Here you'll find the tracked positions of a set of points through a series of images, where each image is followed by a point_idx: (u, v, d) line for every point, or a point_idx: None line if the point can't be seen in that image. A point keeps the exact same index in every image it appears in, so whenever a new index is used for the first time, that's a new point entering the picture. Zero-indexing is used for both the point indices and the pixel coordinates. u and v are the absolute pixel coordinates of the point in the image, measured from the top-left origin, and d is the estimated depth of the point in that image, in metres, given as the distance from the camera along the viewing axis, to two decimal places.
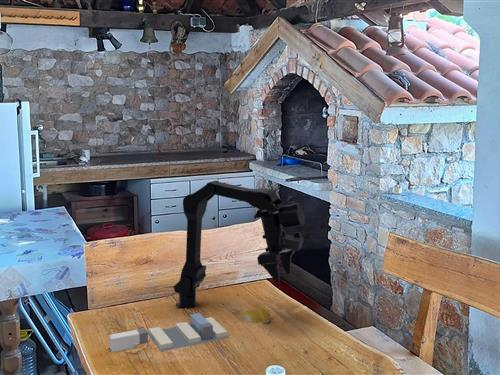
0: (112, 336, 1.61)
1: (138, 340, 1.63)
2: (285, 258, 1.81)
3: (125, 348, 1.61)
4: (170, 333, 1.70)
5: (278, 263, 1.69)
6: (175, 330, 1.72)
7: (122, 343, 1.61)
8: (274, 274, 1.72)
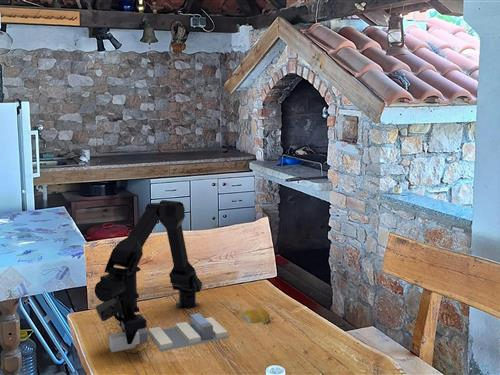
0: (112, 336, 1.61)
1: (138, 340, 1.63)
2: None
3: (125, 348, 1.61)
4: (170, 333, 1.70)
5: (114, 316, 1.64)
6: (175, 330, 1.72)
7: (122, 343, 1.61)
8: None
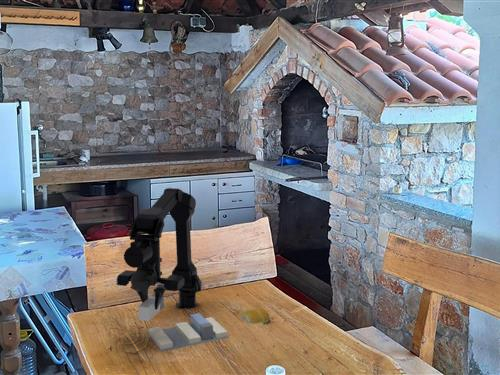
0: (143, 306, 1.59)
1: (159, 304, 1.66)
2: None
3: (154, 314, 1.62)
4: (170, 333, 1.70)
5: None
6: (175, 330, 1.72)
7: (153, 310, 1.61)
8: None
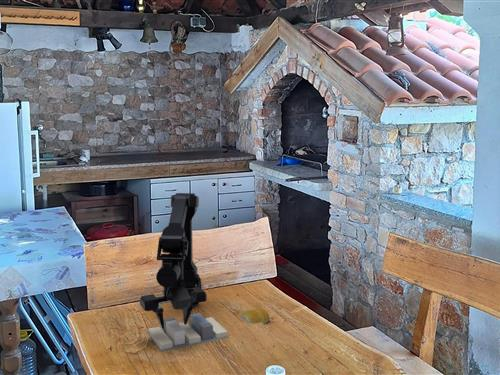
0: (177, 330, 1.63)
1: None
2: (185, 308, 1.68)
3: None
4: None
5: (156, 312, 1.61)
6: None
7: None
8: (158, 319, 1.64)
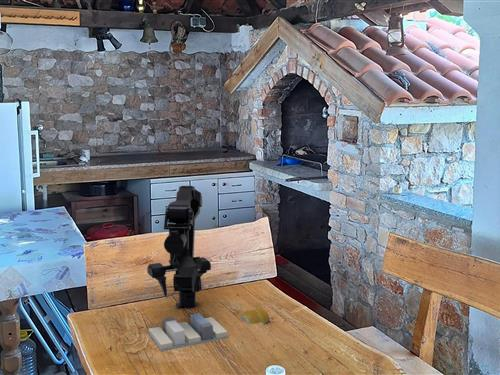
0: (177, 330, 1.63)
1: None
2: (194, 276, 1.76)
3: None
4: None
5: (159, 279, 1.68)
6: None
7: None
8: (161, 287, 1.72)
